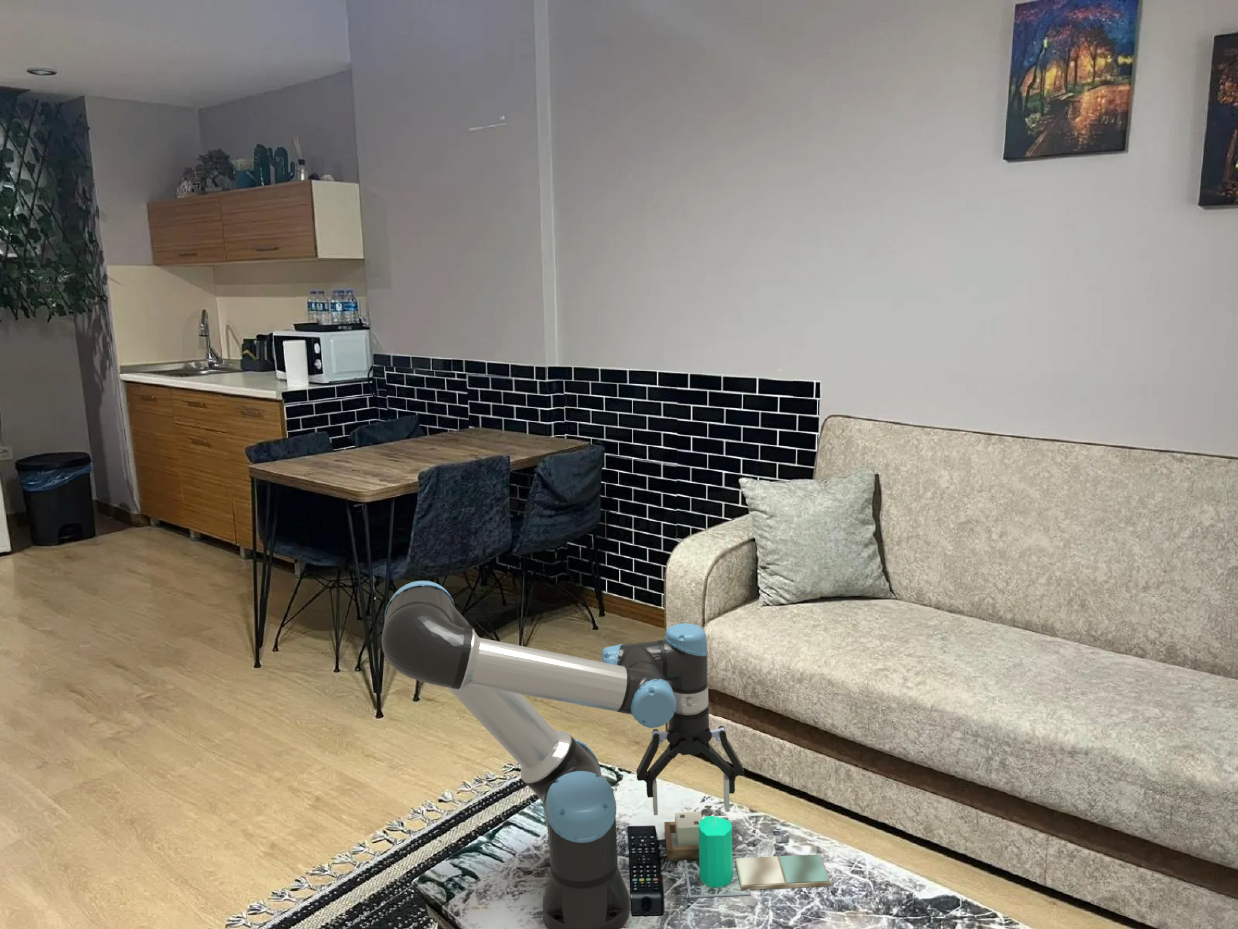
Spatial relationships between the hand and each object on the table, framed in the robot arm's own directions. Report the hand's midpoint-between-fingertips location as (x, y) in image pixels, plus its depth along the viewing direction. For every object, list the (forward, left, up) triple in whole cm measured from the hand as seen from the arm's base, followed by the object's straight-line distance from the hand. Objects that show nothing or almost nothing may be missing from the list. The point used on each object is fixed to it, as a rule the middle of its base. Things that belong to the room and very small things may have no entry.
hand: (691, 809), depth 175 cm
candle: (+4, -10, -8) cm, 13 cm away
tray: (0, 0, -8) cm, 8 cm away
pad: (+4, -10, -8) cm, 13 cm away
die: (0, 0, -7) cm, 7 cm away
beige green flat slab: (+16, -10, -8) cm, 20 cm away
